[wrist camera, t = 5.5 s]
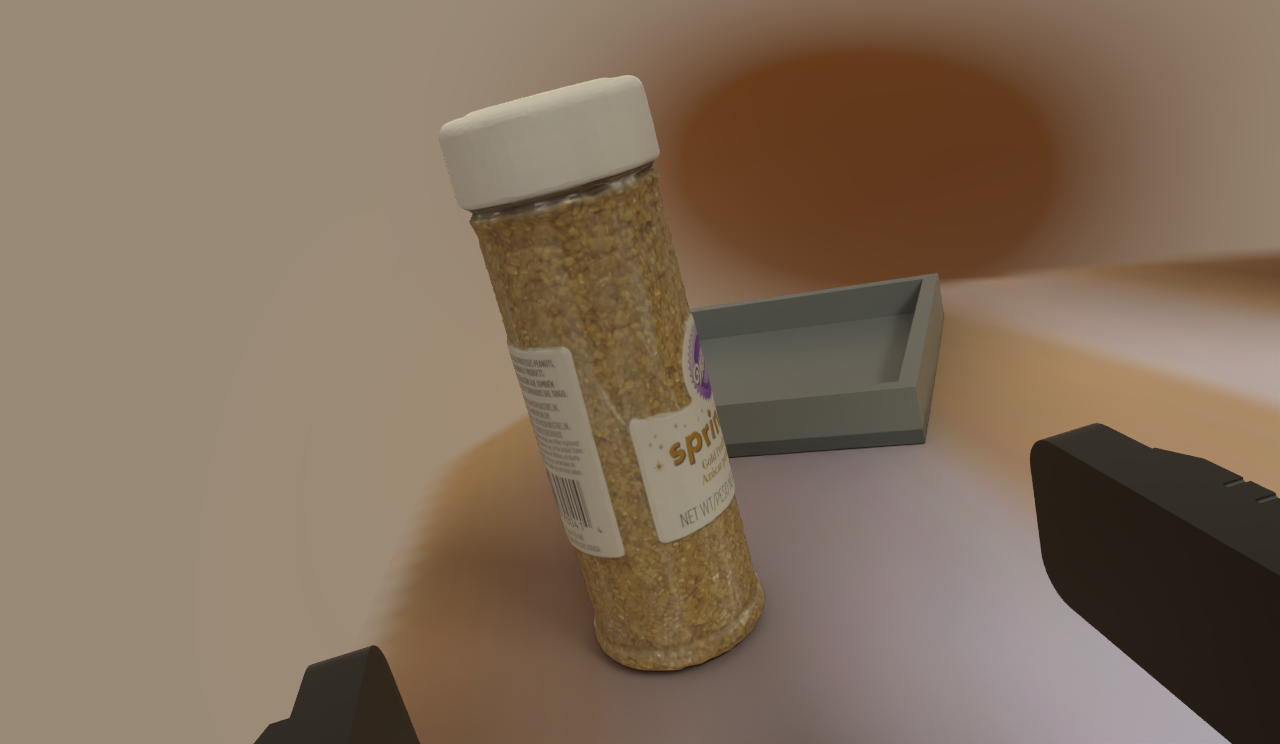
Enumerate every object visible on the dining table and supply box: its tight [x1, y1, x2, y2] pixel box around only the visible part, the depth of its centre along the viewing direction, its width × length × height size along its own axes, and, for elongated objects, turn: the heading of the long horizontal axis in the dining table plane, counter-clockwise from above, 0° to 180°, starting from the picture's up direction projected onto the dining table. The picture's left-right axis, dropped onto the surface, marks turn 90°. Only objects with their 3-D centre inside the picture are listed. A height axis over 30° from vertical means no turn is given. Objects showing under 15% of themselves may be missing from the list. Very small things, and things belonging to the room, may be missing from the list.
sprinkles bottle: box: [439, 75, 765, 671], centre depth 21 cm, size 5×5×13 cm
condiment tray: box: [690, 273, 944, 457], centre depth 37 cm, size 13×13×2 cm
